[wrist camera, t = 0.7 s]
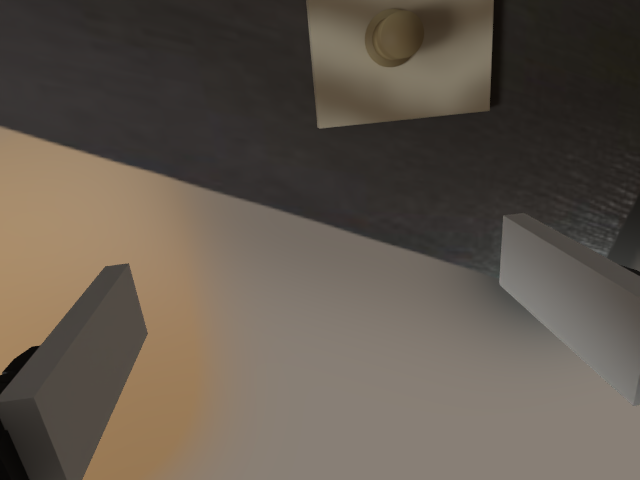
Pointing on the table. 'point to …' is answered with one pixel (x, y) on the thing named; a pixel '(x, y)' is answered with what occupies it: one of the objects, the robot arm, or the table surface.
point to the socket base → (399, 59)
